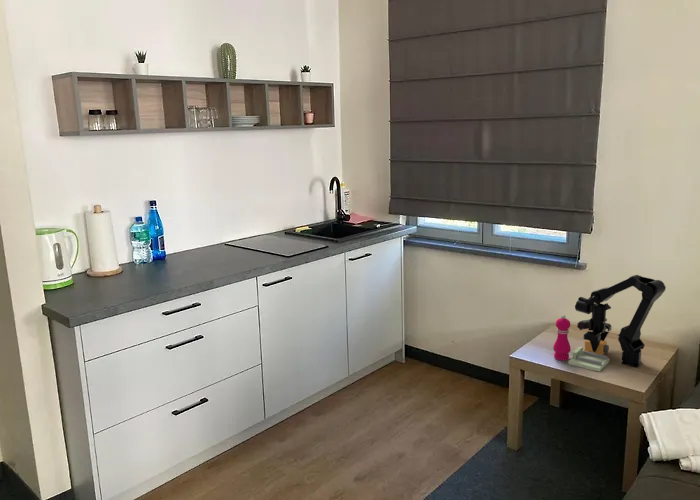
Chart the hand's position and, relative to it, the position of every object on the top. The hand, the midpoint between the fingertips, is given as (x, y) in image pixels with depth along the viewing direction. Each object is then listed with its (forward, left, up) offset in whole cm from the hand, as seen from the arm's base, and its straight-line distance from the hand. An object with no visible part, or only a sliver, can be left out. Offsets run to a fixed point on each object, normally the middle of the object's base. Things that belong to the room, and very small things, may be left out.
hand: (596, 349), depth 263 cm
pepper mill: (+10, +16, -1) cm, 18 cm away
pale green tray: (-1, +14, -1) cm, 14 cm away
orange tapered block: (+1, 0, -1) cm, 1 cm away
